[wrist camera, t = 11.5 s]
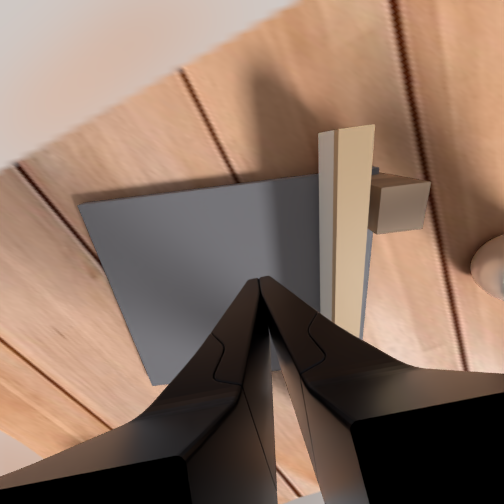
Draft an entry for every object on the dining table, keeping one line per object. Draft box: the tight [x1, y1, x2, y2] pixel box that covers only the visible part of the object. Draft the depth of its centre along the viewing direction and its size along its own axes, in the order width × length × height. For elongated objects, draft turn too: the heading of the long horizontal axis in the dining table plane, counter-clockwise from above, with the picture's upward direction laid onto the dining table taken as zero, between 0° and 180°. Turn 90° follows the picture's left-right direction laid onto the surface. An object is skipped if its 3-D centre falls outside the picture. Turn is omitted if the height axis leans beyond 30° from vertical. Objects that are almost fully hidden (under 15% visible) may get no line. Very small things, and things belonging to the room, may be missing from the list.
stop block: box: [367, 172, 431, 234], centre depth 18 cm, size 3×3×6 cm
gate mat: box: [77, 167, 379, 386], centre depth 23 cm, size 21×24×1 cm
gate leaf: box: [318, 124, 375, 338], centre depth 18 cm, size 17×2×4 cm, turn 7°
